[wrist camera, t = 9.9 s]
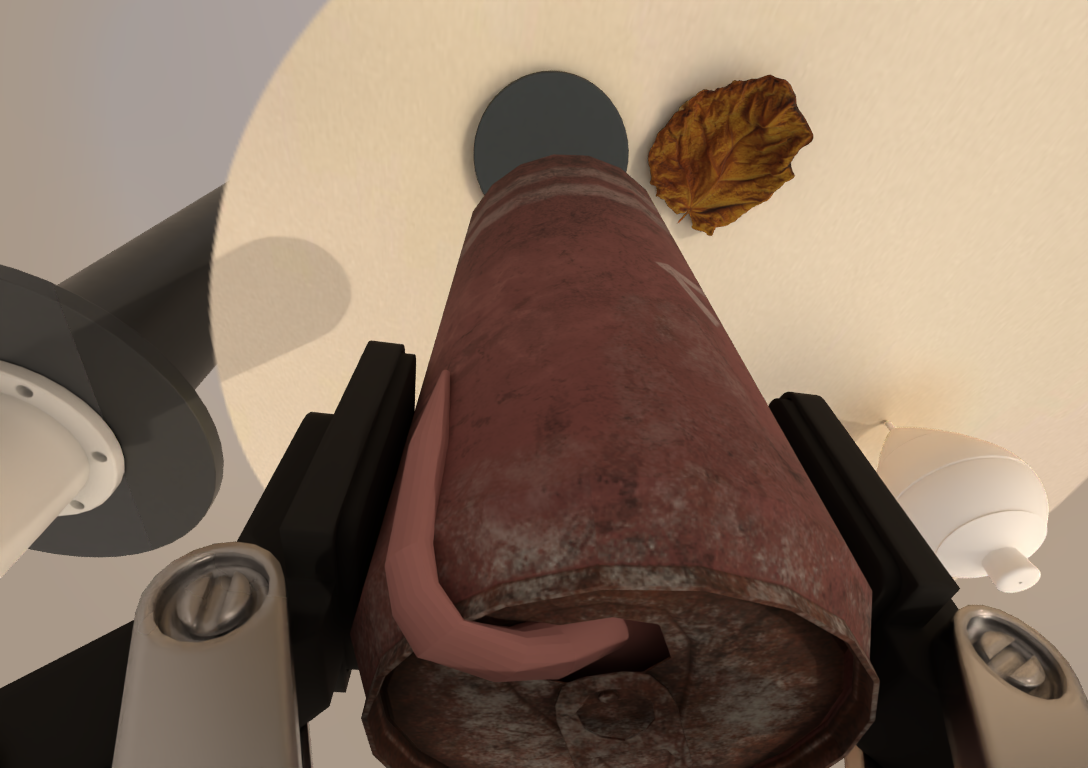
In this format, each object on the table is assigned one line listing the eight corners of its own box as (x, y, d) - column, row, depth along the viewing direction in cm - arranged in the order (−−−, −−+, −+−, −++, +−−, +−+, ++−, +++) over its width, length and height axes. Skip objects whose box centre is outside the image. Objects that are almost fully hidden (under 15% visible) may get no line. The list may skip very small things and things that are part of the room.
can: (542, 93, 15) (565, 428, 3) (702, 238, 17) (1038, 727, 6) (421, 261, 18) (203, 767, 6) (574, 367, 20) (627, 876, 8)
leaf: (624, 140, 26) (627, 154, 25) (765, 37, 23) (777, 47, 22) (689, 240, 30) (694, 256, 28) (818, 162, 27) (831, 176, 25)
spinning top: (925, 463, 38) (1062, 626, 28) (813, 467, 38) (910, 632, 28) (970, 370, 34) (1150, 524, 24) (843, 375, 34) (971, 531, 24)
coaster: (468, 221, 28) (468, 224, 28) (481, 57, 24) (480, 58, 24) (608, 241, 29) (609, 244, 28) (644, 85, 25) (646, 86, 24)
